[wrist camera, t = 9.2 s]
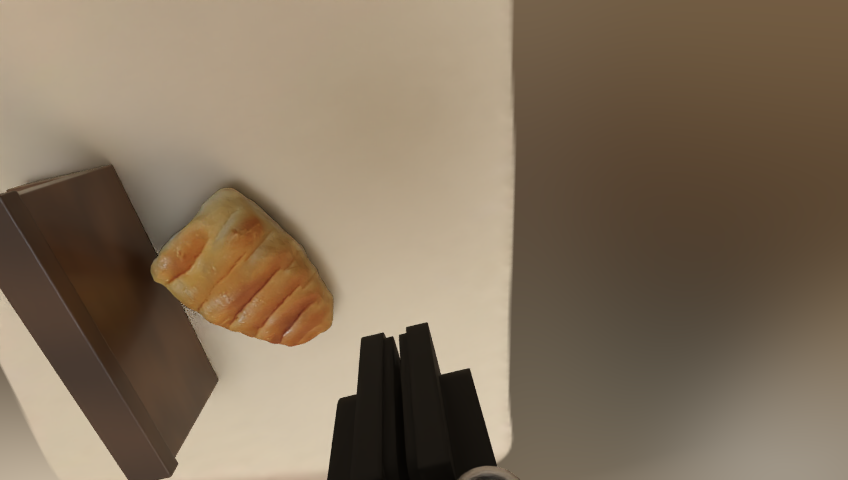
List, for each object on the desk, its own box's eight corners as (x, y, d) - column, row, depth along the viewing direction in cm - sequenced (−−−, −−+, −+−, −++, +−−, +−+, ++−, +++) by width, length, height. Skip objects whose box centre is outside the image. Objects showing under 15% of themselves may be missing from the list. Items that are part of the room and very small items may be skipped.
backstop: (22, 180, 22) (-131, 224, 15) (114, 159, 22) (-1, 195, 15) (149, 398, 27) (75, 498, 21) (223, 382, 27) (171, 477, 21)
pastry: (364, 282, 25) (359, 317, 21) (291, 353, 26) (275, 397, 23) (228, 172, 22) (196, 192, 19) (155, 258, 24) (112, 292, 20)
